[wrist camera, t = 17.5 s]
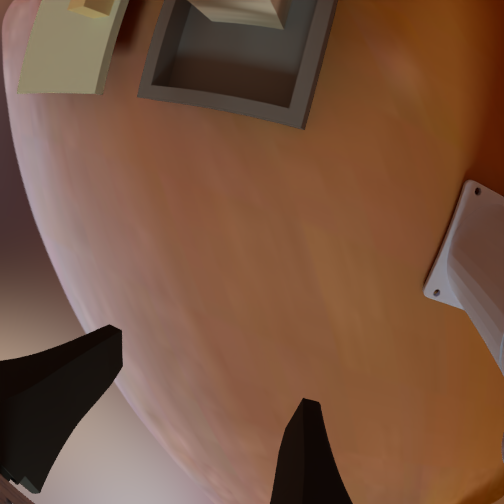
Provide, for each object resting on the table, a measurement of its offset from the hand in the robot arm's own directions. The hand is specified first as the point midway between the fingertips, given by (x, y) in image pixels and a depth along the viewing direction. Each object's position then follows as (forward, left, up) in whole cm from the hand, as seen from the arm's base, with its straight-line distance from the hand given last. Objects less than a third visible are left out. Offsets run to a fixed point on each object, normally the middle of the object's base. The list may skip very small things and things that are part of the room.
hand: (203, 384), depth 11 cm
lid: (+17, -18, -8) cm, 26 cm away
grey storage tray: (+5, -18, -10) cm, 21 cm away
